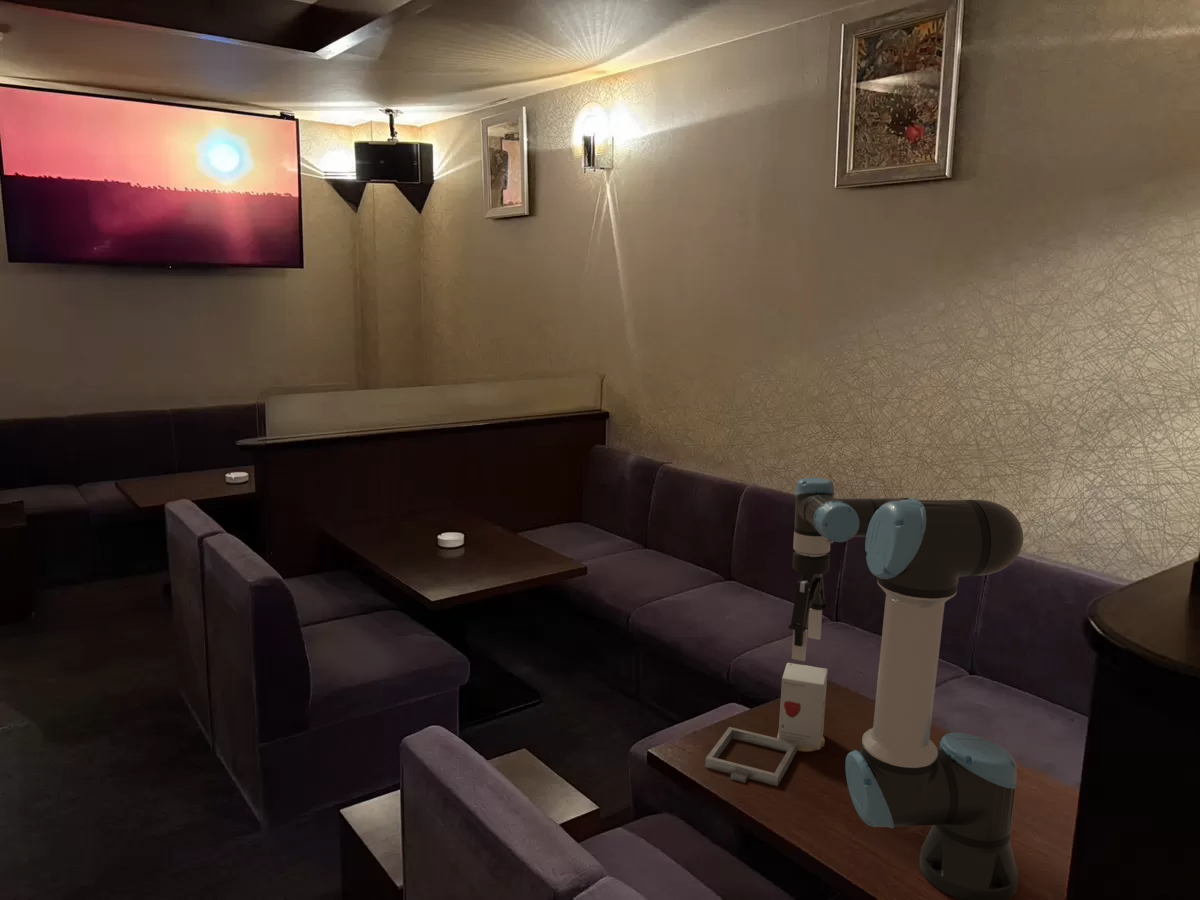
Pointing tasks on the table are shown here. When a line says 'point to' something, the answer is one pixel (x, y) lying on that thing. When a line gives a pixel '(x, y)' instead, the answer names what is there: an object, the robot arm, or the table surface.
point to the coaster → (809, 748)
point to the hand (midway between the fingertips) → (806, 648)
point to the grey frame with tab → (746, 772)
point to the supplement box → (803, 705)
